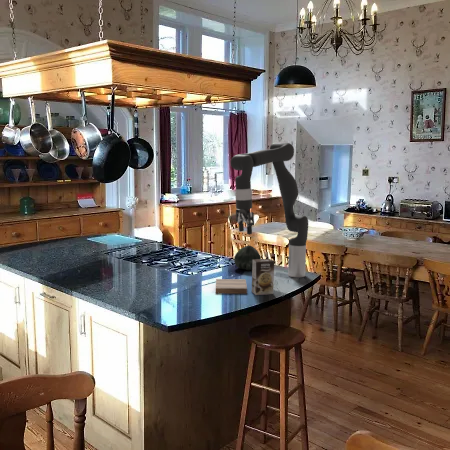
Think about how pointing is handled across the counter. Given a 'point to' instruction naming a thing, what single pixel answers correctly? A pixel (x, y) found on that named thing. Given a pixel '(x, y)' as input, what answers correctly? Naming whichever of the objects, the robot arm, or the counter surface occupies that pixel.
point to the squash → (246, 257)
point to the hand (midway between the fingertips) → (245, 232)
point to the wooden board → (231, 286)
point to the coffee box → (262, 276)
